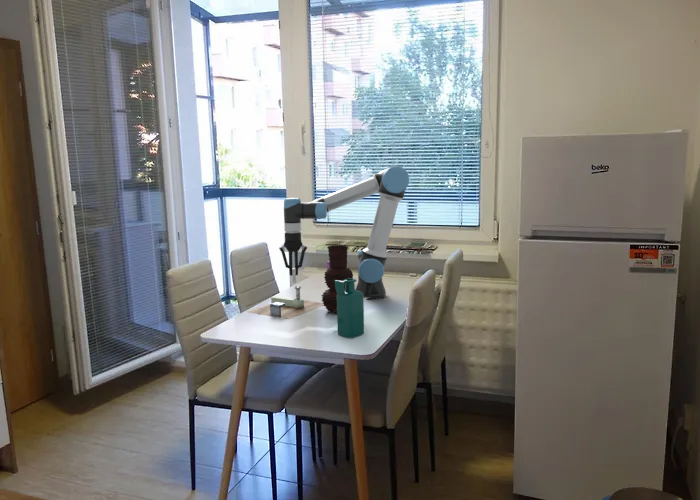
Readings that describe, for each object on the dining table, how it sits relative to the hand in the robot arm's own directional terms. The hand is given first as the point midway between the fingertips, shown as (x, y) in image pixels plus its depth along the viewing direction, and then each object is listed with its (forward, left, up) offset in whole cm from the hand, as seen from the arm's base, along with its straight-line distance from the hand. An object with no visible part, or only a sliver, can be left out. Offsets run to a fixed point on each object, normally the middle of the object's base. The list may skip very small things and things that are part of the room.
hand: (293, 282), depth 259 cm
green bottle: (-46, +26, -11) cm, 54 cm away
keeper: (-7, +21, -9) cm, 25 cm away
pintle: (-7, +7, -6) cm, 12 cm away
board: (-4, +10, -11) cm, 15 cm away
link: (-1, +7, -9) cm, 11 cm away
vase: (-27, +4, -11) cm, 30 cm away
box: (+8, -48, -11) cm, 50 cm away
